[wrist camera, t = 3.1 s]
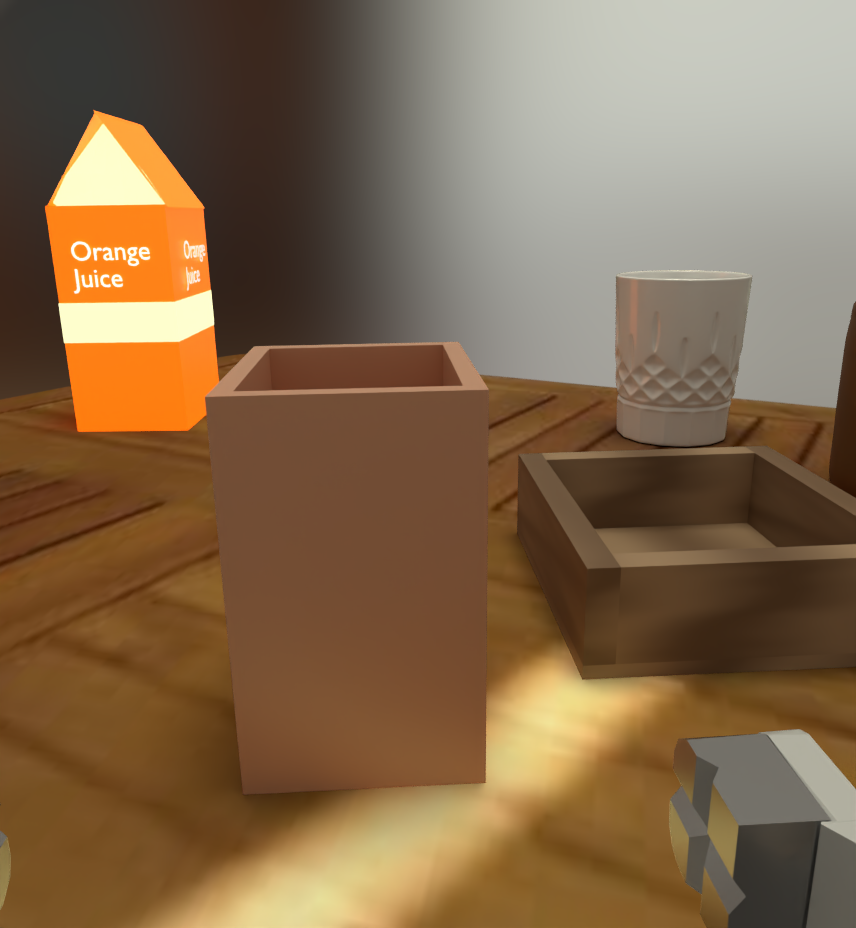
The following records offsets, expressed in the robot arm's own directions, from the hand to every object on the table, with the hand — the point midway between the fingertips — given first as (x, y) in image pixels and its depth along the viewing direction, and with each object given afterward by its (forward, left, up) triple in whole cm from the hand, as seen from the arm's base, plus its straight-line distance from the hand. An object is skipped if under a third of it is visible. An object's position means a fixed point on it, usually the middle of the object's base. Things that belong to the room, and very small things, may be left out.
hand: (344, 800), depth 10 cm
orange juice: (-16, +50, -7) cm, 53 cm away
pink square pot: (0, +12, -7) cm, 14 cm away
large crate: (+12, +19, -7) cm, 24 cm away
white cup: (+19, +41, -7) cm, 46 cm away
